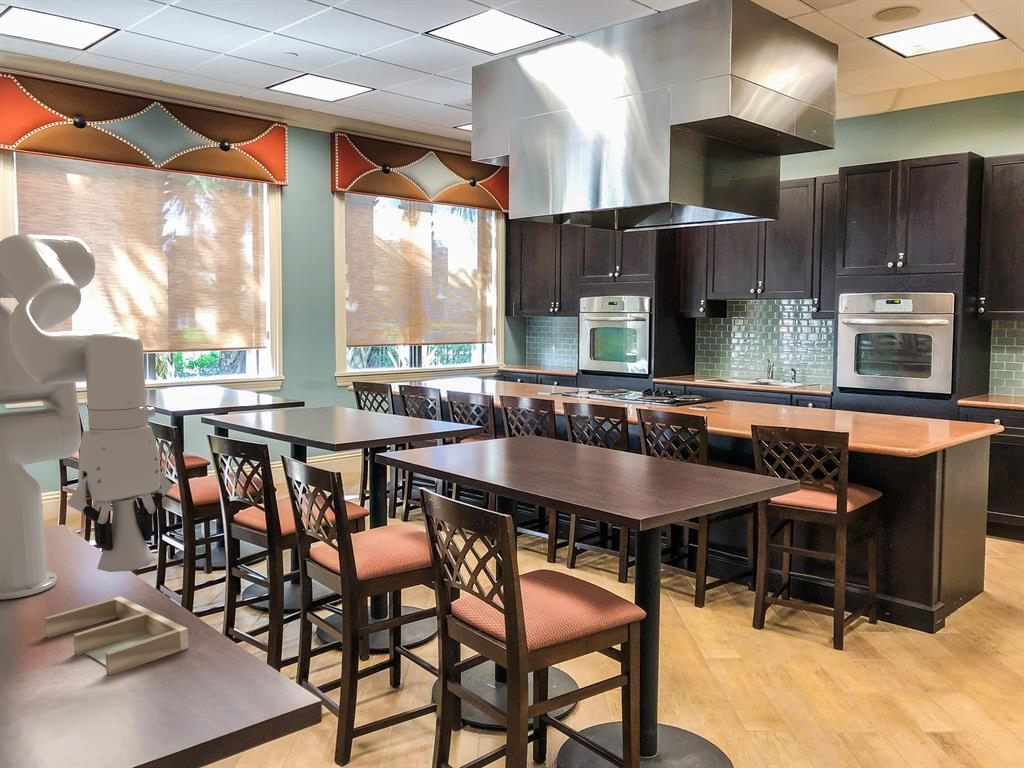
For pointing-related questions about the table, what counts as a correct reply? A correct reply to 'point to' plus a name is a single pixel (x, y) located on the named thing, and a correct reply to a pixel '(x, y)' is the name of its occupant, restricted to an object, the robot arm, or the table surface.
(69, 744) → the table surface
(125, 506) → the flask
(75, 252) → the robot arm
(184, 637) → the comb rack
